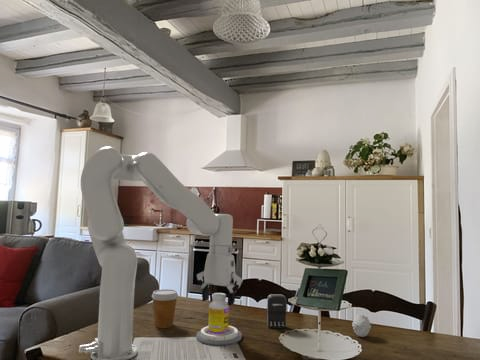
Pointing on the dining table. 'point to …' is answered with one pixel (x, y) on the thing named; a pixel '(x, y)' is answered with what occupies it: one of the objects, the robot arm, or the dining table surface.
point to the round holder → (219, 337)
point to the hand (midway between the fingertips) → (217, 302)
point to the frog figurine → (361, 325)
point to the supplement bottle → (218, 315)
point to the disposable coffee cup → (164, 307)
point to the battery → (276, 311)
